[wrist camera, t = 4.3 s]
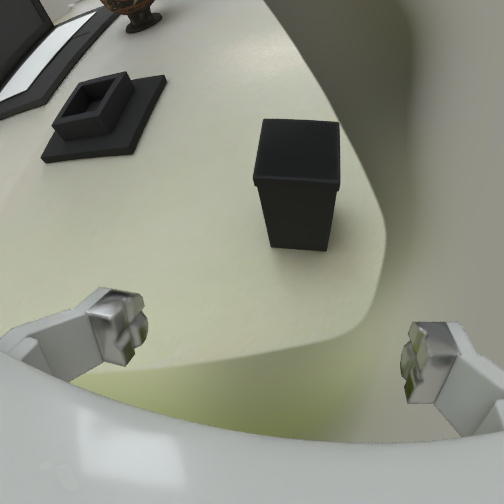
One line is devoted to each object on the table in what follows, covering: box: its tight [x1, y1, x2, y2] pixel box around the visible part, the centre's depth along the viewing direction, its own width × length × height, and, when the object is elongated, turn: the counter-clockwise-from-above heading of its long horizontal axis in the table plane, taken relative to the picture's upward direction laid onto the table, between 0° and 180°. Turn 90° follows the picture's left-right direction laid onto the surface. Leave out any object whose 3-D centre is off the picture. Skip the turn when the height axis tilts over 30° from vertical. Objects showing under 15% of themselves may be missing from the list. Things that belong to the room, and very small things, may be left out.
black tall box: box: [253, 119, 340, 251], centre depth 20 cm, size 4×4×9 cm
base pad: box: [41, 71, 167, 163], centre depth 32 cm, size 14×12×4 cm
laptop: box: [0, 0, 119, 120], centre depth 36 cm, size 37×27×27 cm
